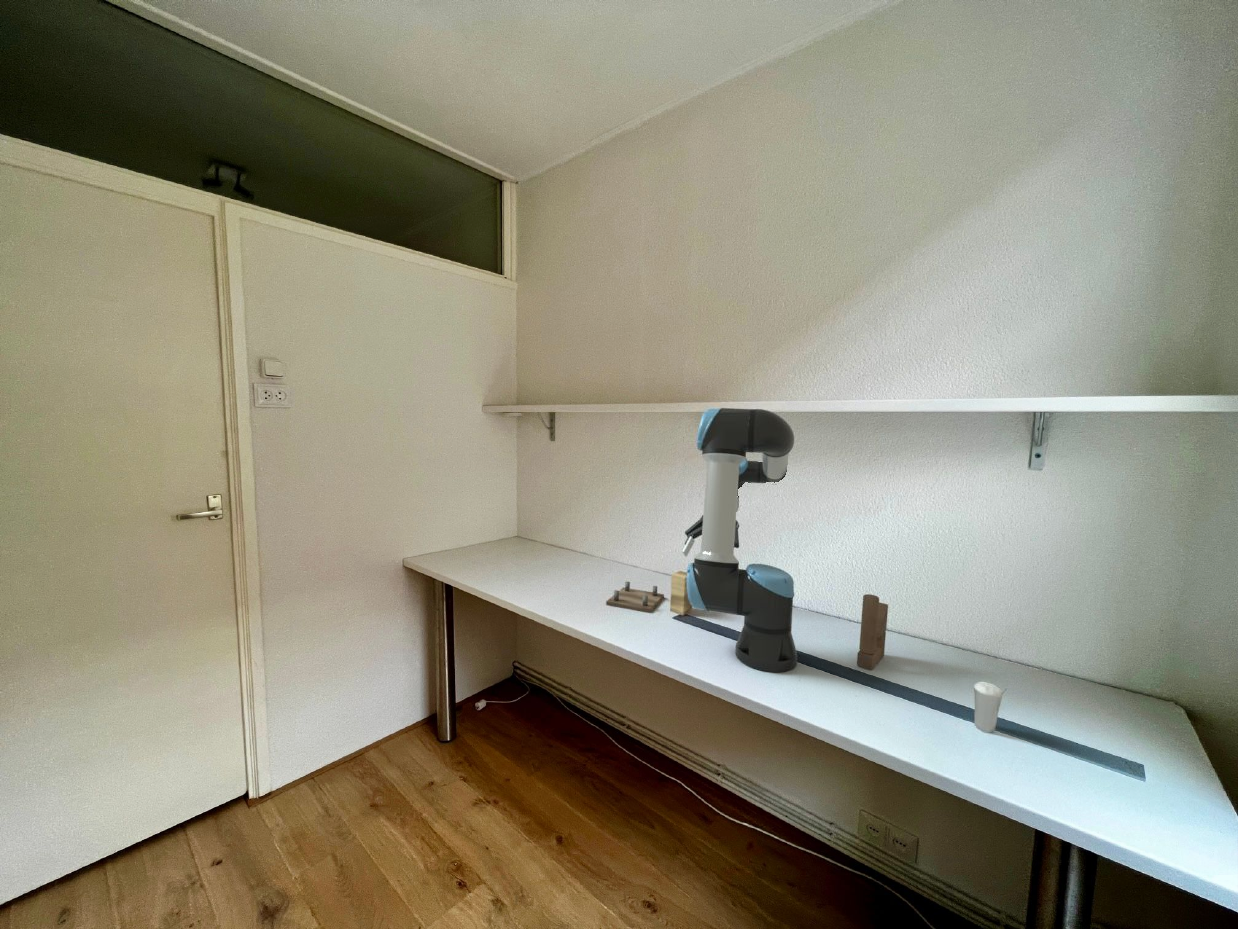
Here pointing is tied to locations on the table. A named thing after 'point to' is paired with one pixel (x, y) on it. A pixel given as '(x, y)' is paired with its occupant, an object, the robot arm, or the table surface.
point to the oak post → (679, 594)
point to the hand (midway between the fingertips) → (701, 558)
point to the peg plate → (635, 599)
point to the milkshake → (987, 705)
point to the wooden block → (872, 632)
